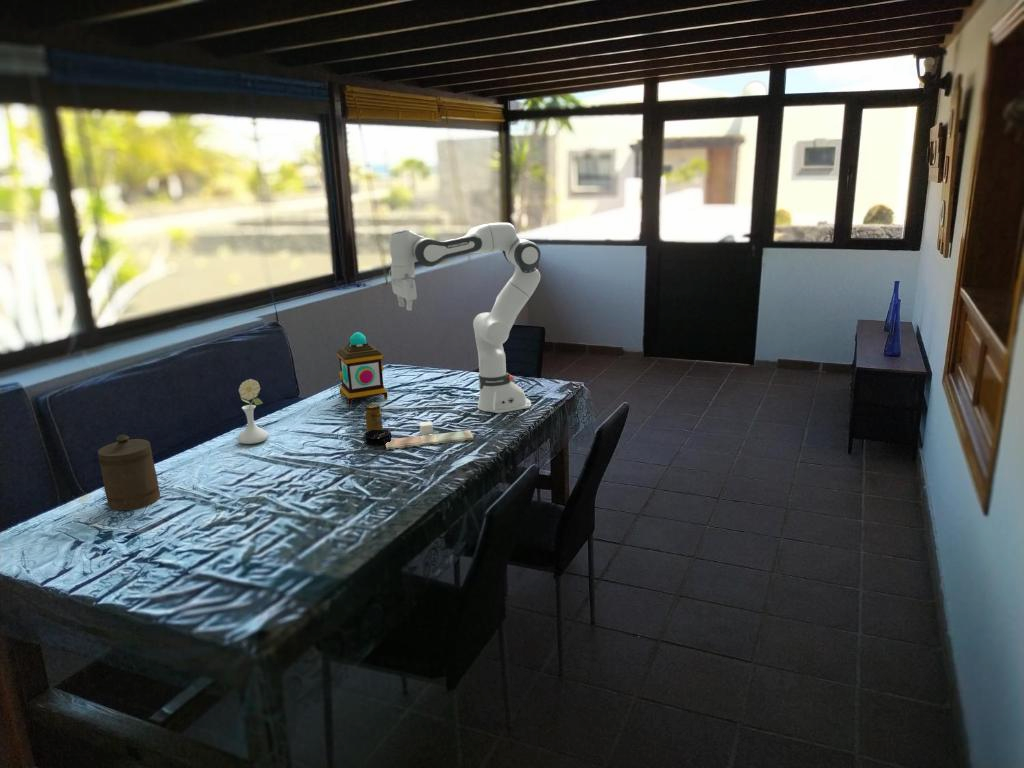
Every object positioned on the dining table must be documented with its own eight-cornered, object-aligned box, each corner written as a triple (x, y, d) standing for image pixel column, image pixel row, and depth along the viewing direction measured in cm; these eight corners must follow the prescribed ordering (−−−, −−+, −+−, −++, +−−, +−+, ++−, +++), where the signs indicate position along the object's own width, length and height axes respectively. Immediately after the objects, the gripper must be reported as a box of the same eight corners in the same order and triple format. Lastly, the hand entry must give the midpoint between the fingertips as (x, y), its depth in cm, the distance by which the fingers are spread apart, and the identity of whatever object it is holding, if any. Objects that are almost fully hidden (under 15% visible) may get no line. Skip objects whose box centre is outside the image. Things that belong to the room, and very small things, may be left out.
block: (431, 430, 286) (431, 421, 285) (433, 434, 282) (432, 424, 281) (420, 432, 285) (419, 422, 284) (421, 436, 281) (420, 426, 280)
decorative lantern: (336, 395, 336) (329, 330, 327) (379, 388, 344) (373, 325, 335) (346, 407, 318) (339, 339, 310) (391, 400, 326) (385, 333, 318)
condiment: (378, 431, 288) (376, 401, 285) (390, 436, 282) (387, 406, 278) (362, 435, 284) (359, 406, 280) (373, 441, 277) (370, 411, 274)
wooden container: (147, 487, 245) (134, 424, 238) (169, 498, 236) (156, 433, 229) (100, 503, 234) (86, 438, 228) (121, 515, 225) (107, 447, 218)
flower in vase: (231, 444, 280) (221, 380, 273) (254, 434, 290) (245, 372, 283) (256, 449, 274) (246, 384, 267) (278, 438, 284) (270, 376, 277)
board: (470, 432, 282) (470, 429, 282) (473, 439, 275) (473, 436, 274) (385, 442, 276) (384, 439, 276) (386, 449, 268) (386, 446, 268)
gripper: (419, 275, 277) (421, 311, 281) (403, 269, 295) (405, 303, 299) (403, 276, 275) (405, 313, 279) (387, 270, 293) (390, 305, 296)
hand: (405, 308), depth 289 cm, fingers open, 8 cm apart
